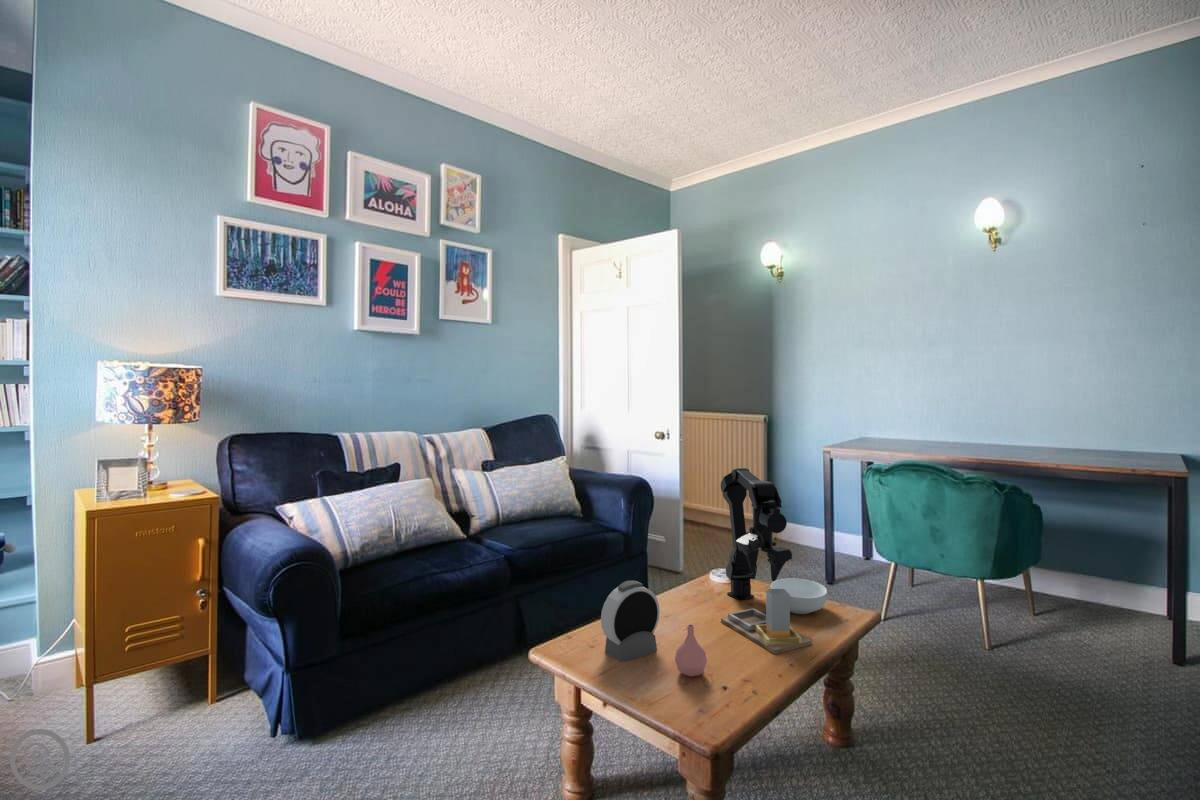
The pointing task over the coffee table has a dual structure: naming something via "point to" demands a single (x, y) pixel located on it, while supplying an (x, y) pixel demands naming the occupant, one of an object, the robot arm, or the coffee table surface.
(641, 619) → the alarm clock
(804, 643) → the station board
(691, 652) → the pink vase
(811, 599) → the cereal bowl
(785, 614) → the grey square pillar
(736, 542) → the robot arm
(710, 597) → the coffee table surface
